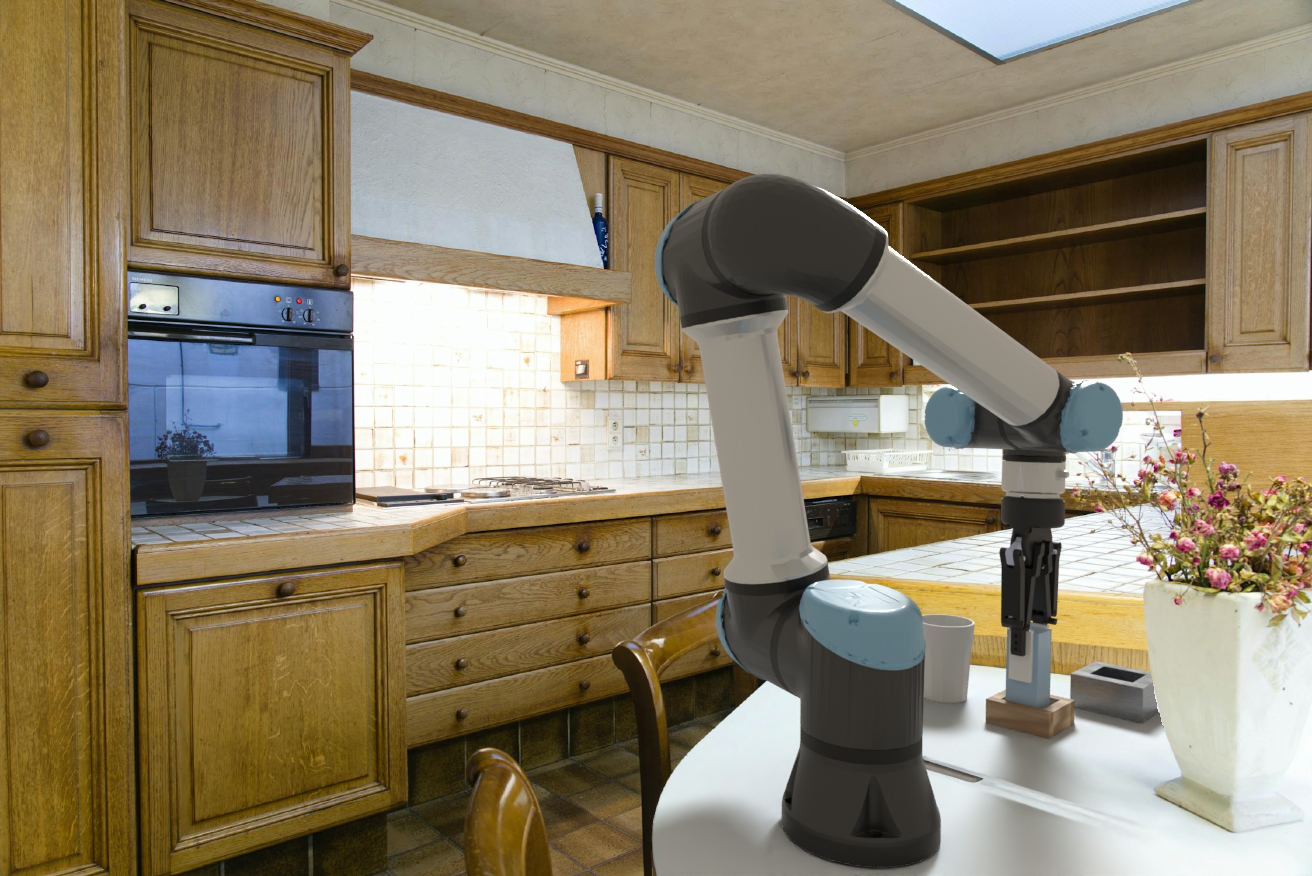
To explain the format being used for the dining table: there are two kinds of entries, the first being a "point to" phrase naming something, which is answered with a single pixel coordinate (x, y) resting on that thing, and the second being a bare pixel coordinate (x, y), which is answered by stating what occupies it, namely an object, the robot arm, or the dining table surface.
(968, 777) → the smartphone
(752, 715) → the dining table surface
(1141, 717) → the port
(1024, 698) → the plug
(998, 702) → the tan square frame
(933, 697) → the cup
